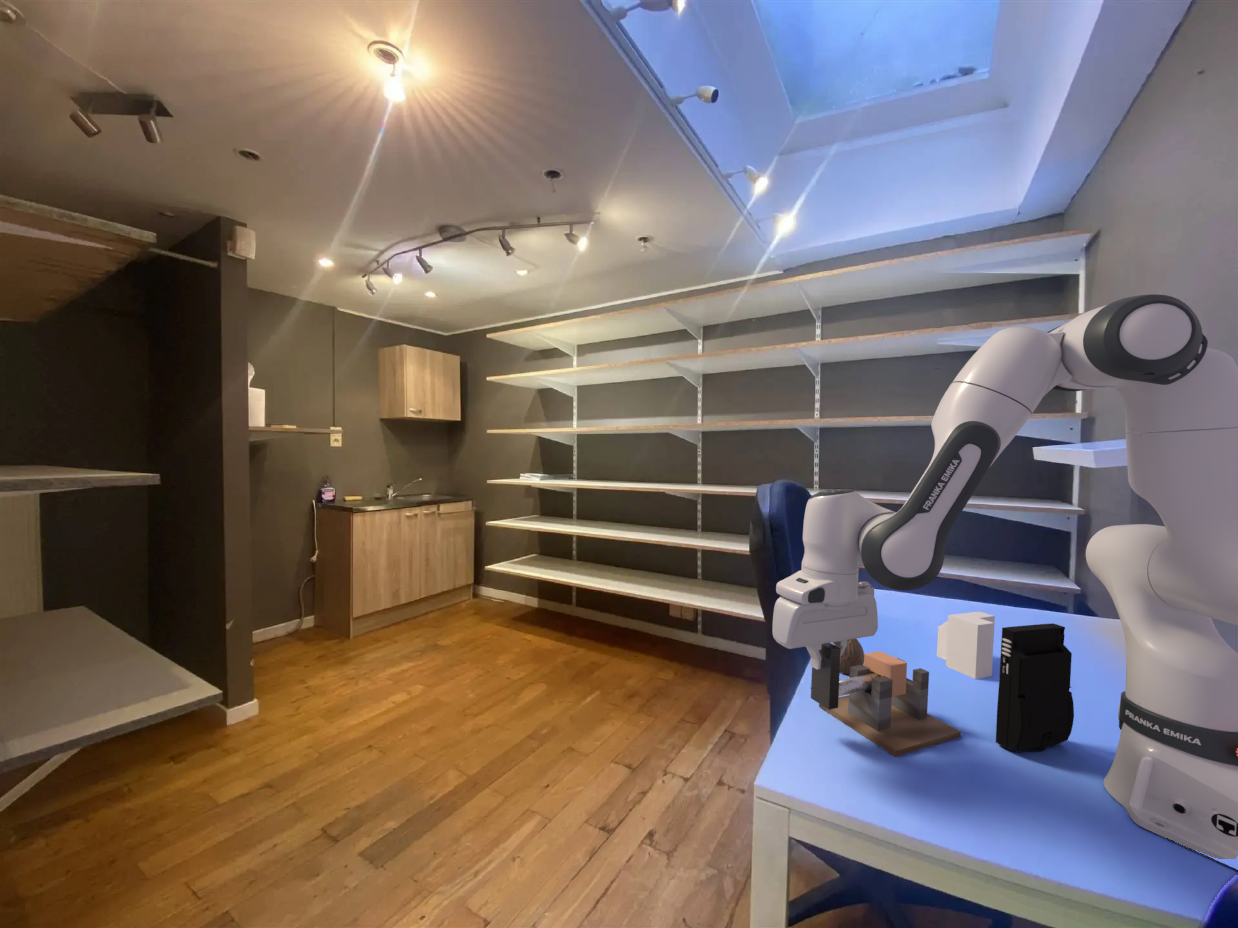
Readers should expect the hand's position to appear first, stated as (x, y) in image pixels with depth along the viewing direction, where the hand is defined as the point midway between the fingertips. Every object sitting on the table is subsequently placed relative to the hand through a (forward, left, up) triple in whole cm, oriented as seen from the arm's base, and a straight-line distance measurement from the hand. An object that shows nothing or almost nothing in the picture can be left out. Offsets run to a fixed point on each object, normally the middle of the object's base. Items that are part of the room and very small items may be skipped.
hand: (825, 666), depth 81 cm
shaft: (0, -7, -6) cm, 9 cm away
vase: (+18, -25, -12) cm, 33 cm away
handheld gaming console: (-14, -32, -12) cm, 37 cm away
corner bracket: (+11, -55, -12) cm, 58 cm away
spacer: (0, -14, -6) cm, 15 cm away
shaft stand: (0, -15, -12) cm, 19 cm away
